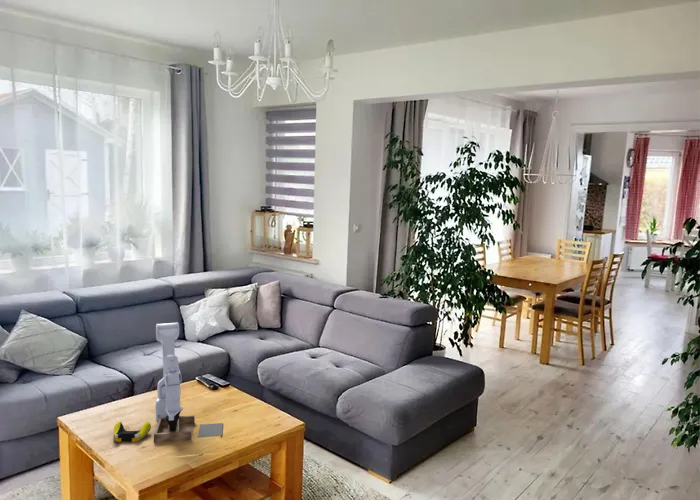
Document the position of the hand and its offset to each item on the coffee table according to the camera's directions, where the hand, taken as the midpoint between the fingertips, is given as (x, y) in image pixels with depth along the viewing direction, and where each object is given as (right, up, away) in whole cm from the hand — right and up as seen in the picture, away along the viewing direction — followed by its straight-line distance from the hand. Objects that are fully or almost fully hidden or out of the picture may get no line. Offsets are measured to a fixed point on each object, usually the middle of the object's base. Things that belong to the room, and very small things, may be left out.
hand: (173, 428), depth 229 cm
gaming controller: (-17, -3, -4) cm, 18 cm away
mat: (+15, -2, +3) cm, 16 cm away
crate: (+1, -2, 0) cm, 2 cm away
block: (0, -2, 0) cm, 2 cm away
